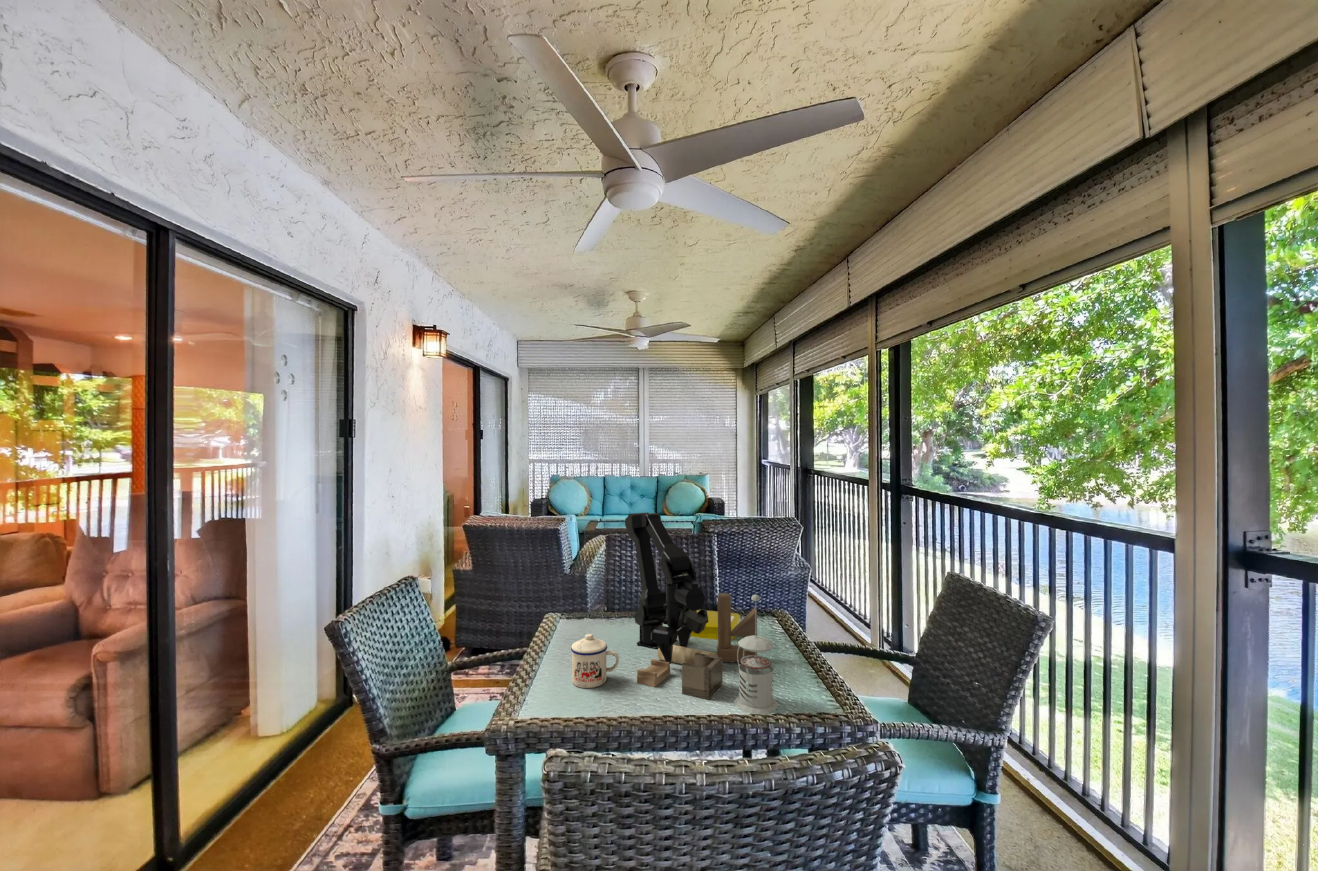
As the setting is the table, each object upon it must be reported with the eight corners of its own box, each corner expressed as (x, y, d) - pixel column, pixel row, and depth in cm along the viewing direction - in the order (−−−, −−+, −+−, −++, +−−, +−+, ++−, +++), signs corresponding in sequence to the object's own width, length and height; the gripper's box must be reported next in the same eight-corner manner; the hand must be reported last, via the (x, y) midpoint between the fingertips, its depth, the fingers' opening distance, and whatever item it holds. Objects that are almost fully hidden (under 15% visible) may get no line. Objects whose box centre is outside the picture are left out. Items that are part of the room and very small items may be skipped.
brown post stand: (757, 663, 152) (757, 596, 152) (717, 662, 153) (717, 596, 153) (756, 658, 156) (755, 593, 156) (717, 657, 156) (716, 592, 156)
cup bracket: (682, 693, 134) (681, 664, 134) (696, 680, 142) (696, 652, 142) (708, 700, 131) (708, 669, 131) (722, 685, 138) (722, 657, 138)
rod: (656, 659, 153) (658, 643, 154) (664, 658, 157) (666, 642, 158) (710, 671, 146) (712, 653, 147) (717, 670, 150) (718, 652, 151)
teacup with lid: (569, 689, 137) (569, 641, 137) (572, 673, 146) (572, 629, 146) (618, 688, 137) (618, 640, 137) (619, 672, 146) (619, 627, 146)
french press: (749, 717, 123) (749, 602, 123) (722, 695, 133) (722, 589, 133) (786, 708, 127) (786, 597, 127) (757, 687, 137) (757, 585, 137)
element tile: (732, 642, 169) (732, 626, 169) (684, 637, 173) (684, 621, 173) (741, 626, 183) (740, 611, 183) (696, 622, 187) (696, 607, 188)
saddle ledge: (636, 682, 140) (636, 670, 140) (653, 670, 147) (653, 658, 148) (654, 687, 138) (654, 674, 138) (670, 674, 145) (670, 661, 145)
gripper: (688, 614, 141) (688, 676, 141) (717, 595, 157) (717, 651, 157) (649, 608, 146) (650, 668, 146) (681, 590, 163) (681, 644, 163)
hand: (676, 657), depth 153 cm, fingers open, 9 cm apart
